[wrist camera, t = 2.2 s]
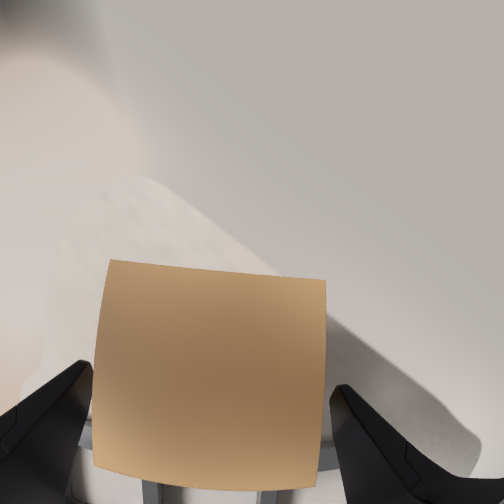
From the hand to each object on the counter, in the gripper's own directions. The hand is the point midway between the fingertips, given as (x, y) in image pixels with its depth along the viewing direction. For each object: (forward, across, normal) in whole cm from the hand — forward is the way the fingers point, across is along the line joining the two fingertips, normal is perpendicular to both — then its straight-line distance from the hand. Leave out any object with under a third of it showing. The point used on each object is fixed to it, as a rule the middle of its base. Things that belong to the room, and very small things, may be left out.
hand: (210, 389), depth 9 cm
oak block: (+6, 0, +6) cm, 8 cm away
